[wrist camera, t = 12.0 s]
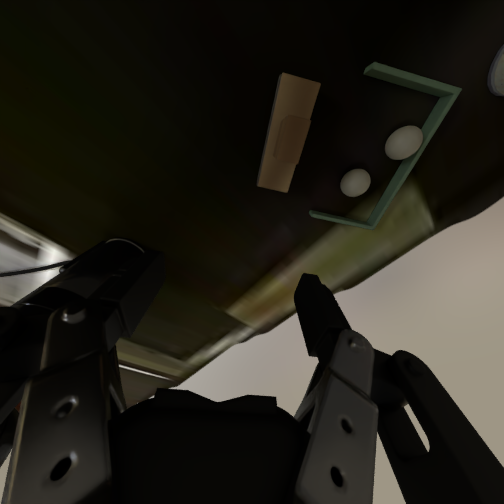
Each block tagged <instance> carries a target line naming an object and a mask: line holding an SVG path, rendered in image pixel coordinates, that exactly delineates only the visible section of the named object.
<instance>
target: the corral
mask: <svg viewBox="0 0 504 504" xmlns="http://www.w3.org/2000/svg"><path fill="white" fill-rule="evenodd" d="M364 75H367V76H371V77H374V78H377V79H381V80H384V81H388V82H391V83H394V84H398V85H401V86H404V87H408V88H411V89H414V90H418V91H421V92H424V93H428V94H431V95H434V96H438V97H440V98H439V100H438V102H437V103H436V105H435V107H434V108H433V110H432V112H431V114H430V115H429V117H428V119H427V120H426V122H425V124H424V125H423V127H422V129H421V131H422V133H423V141H422V144H421V146H420V147H419V149H418V150H417V151H416V152H415V153H414V154H412V155H411V156H409V157H407V158H404V159H403V161H402V163H401V165H400V166H399V168H398V170H397V171H396V173H395V175H394V176H393V178H392V180H391V182H390V183H389V185H388V187H387V188H386V190H385V192H384V193H383V195H382V197H381V199H380V200H379V202H378V204H377V205H376V207H375V209H374V210H373V212H372V214H371V216H370V217H369V219H368V221H367V222H363V221H358V220H353V219H349V218H344V217H340V216H335V215H331V214H326V213H322V212H317V211H312V210H310V211H309V214H310V215H311V217H315V218H319V219H324V220H329V221H333V222H338V223H343V224H347V225H352V226H356V227H361V228H366V229H370V230H374V229H375V227H376V226H377V224H378V222H379V221H380V219H381V218H382V216H383V214H384V213H385V211H386V210H387V208H388V206H389V205H390V203H391V202H392V200H393V198H394V197H395V195H396V194H397V192H398V190H399V189H400V187H401V186H402V184H403V182H404V181H405V179H406V178H407V176H408V174H409V173H410V171H411V170H412V168H413V166H414V165H415V163H416V162H417V160H418V158H419V157H420V155H421V154H422V152H423V150H424V149H425V147H426V146H427V144H428V142H429V141H430V139H431V138H432V136H433V134H434V133H435V131H436V130H437V128H438V126H439V125H440V123H441V122H442V120H443V119H444V117H445V115H446V114H447V112H448V111H449V109H450V107H451V106H452V104H453V103H454V101H455V99H456V98H457V96H458V95H459V93H460V91H461V90H462V89H461V88H458V87H455V86H451V85H448V84H445V83H442V82H438V81H435V80H432V79H429V78H425V77H422V76H419V75H415V74H412V73H409V72H406V71H402V70H399V69H396V68H393V67H389V66H386V65H383V64H380V63H376V62H374V63H372V64H371V65H370V66H368V67H367V68H366V69H365V71H364Z"/></svg>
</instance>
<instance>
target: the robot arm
mask: <svg viewBox="0 0 504 504" xmlns="http://www.w3.org/2000/svg"><path fill="white" fill-rule="evenodd" d="M63 265H64V266H63ZM59 266H62V267H61V268H60V269H59V272H60V274H58V275H57V276H55V277H54V278H52V279H51V280H49V281H48V282H46V283H45V284H43V285H42V286H40V287H39V288H37V289H36V290H34V291H33V292H31V293H30V294H28V295H27V296H25V297H24V298H22V299H21V300H19V301H18V302H16V303H15V304H13V305H11V306H10V307H0V467H1V466H2V464H3V463H4V461H5V460H6V458H7V456H8V455H9V453H10V451H11V449H12V452H11V457H10V462H9V467H8V472H7V477H6V482H5V487H4V492H3V497H2V502H1V504H372V502H373V486H374V470H375V455H376V439H377V432H378V434H379V437H380V439H381V442H382V444H383V447H384V449H385V452H386V454H387V457H388V459H389V462H390V464H391V467H392V469H393V472H394V474H395V477H396V479H397V482H398V484H399V487H400V489H401V492H402V494H403V497H404V500H405V502H406V504H504V467H503V466H502V465H501V463H500V462H499V461H498V459H497V458H496V457H495V456H494V454H493V453H492V451H491V450H490V449H489V447H488V446H487V445H486V443H485V442H484V441H483V439H482V438H481V437H480V436H479V434H478V433H477V431H476V430H475V429H474V427H473V426H472V425H471V423H470V422H469V421H468V419H467V418H466V417H465V415H464V414H463V413H462V411H461V410H460V409H459V407H458V406H457V405H456V403H455V402H454V401H453V399H452V398H451V397H450V395H449V394H448V393H447V391H446V390H445V388H443V386H442V384H441V383H440V382H439V381H438V379H437V378H436V376H435V375H434V374H433V373H432V371H431V370H430V369H429V367H428V366H427V365H426V364H425V363H424V362H423V361H422V360H420V359H419V358H417V357H416V356H415V355H413V354H411V353H409V352H407V351H403V350H398V351H396V352H395V353H394V354H393V355H392V356H391V355H388V354H386V353H384V352H381V351H379V350H376V349H374V348H373V347H372V345H371V344H370V343H369V341H368V340H367V339H366V338H365V337H364V336H362V335H361V334H359V333H358V332H356V331H354V330H352V329H351V327H350V325H349V323H348V321H347V320H346V318H345V316H344V314H343V312H342V310H341V309H340V307H339V306H338V303H337V301H336V300H335V297H334V295H333V294H332V292H331V291H330V290H329V289H328V288H327V287H326V286H325V285H323V284H322V283H321V281H320V279H319V277H318V276H317V275H313V274H307V273H304V274H302V276H301V279H300V281H299V283H298V286H297V288H296V290H295V293H294V303H295V307H296V310H297V314H298V318H299V321H300V325H301V329H302V332H303V336H304V339H305V343H306V347H307V351H308V355H309V356H312V357H318V360H319V363H318V364H317V366H316V369H315V371H314V374H313V376H312V379H311V381H310V384H309V386H308V389H307V391H306V394H305V396H304V398H303V401H302V403H301V404H300V406H299V408H298V410H297V412H296V414H295V416H294V417H293V416H292V415H290V414H289V413H288V412H286V411H285V410H283V409H282V408H280V407H277V401H276V397H272V396H259V395H245V396H242V397H238V398H234V399H230V400H226V401H222V402H215V401H212V400H210V399H208V398H205V397H203V396H200V395H198V394H196V393H193V392H191V391H189V390H177V389H164V388H157V391H156V393H155V396H154V398H151V399H147V400H145V401H142V402H140V403H138V404H135V405H133V406H131V407H130V408H128V409H127V406H126V401H125V397H124V393H123V389H122V384H121V378H120V371H119V364H118V357H117V350H116V345H115V344H116V342H117V341H118V339H119V338H120V337H129V338H130V337H131V335H132V334H133V332H134V331H135V329H136V327H137V326H138V324H139V323H140V321H141V319H142V318H143V316H144V315H145V313H146V311H147V310H148V308H149V307H150V305H151V303H152V302H153V300H154V299H155V297H156V295H157V294H158V292H159V291H160V289H161V287H162V286H163V284H164V281H165V277H166V271H165V260H164V253H163V252H160V251H153V250H146V251H145V250H144V249H143V248H142V247H141V246H140V245H139V244H137V243H136V242H134V241H132V240H129V239H126V238H113V239H110V240H109V241H102V242H100V243H99V244H97V245H95V246H94V247H92V248H91V249H89V250H88V251H86V252H84V253H83V254H81V255H80V256H78V257H76V258H75V259H73V260H70V261H64V262H60V263H57V264H53V265H49V266H44V267H39V268H34V269H29V270H22V271H16V272H9V273H1V274H0V277H3V276H11V275H18V274H25V273H31V272H37V271H42V270H47V269H51V268H55V267H59ZM21 399H22V402H21V407H20V412H18V411H17V410H16V409H15V407H16V405H17V404H18V403H19V402H20V401H21ZM407 404H409V405H410V407H411V409H412V411H413V413H414V414H415V416H416V418H417V420H418V421H419V423H420V425H421V427H422V429H423V430H424V432H425V434H426V436H427V438H428V441H429V445H430V449H429V452H428V451H427V450H426V448H425V446H424V444H423V442H422V440H421V438H420V437H419V435H418V433H417V431H416V429H415V427H414V425H413V424H412V422H411V420H410V418H409V416H408V414H407V412H406V410H405V409H404V406H405V405H407Z"/></svg>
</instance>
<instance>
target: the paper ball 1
mask: <svg viewBox="0 0 504 504" xmlns="http://www.w3.org/2000/svg"><path fill="white" fill-rule="evenodd" d="M369 185H370V176H369V174H368V173H367V172H366V171H365V170H362V169H354V170H351V171H349V172H348V173H346V174H345V175H344V177H343V178H342V180H341V184H340V186H341V190H342V192H343V193H344V194H345V195H347V196H350V197H355V196H359V195H361V194H363V193H364V192H365V191H366V190H367V189H368V187H369Z"/></svg>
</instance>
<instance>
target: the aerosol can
mask: <svg viewBox="0 0 504 504" xmlns="http://www.w3.org/2000/svg"><path fill="white" fill-rule="evenodd" d="M488 87H489V90H490V92H491V93H493V94H494V95H496V96H504V44H503V46H502V47H501V48H500V50H499V51H498V53H497V54H496V56H495V58H494V60H493V62H492V64H491V67H490V70H489V73H488Z"/></svg>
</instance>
